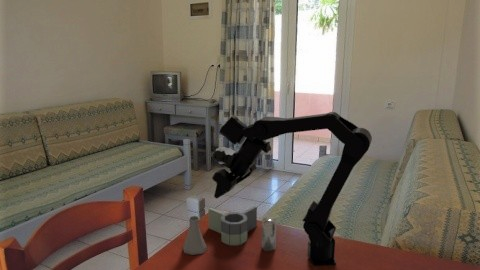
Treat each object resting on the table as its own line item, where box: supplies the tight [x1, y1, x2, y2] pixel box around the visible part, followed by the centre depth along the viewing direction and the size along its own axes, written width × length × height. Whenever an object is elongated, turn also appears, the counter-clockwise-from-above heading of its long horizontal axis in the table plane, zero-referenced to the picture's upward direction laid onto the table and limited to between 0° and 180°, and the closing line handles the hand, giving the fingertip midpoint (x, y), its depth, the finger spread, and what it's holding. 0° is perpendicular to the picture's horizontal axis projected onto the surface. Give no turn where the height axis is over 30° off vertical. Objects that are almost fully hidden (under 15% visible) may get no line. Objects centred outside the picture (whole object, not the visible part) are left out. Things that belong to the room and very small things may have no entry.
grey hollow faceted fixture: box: [221, 205, 258, 235], centre depth 113 cm, size 15×8×7 cm, turn 139°
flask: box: [182, 215, 208, 256], centre depth 104 cm, size 7×7×10 cm
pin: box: [261, 216, 277, 252], centre depth 105 cm, size 4×4×9 cm
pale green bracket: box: [207, 207, 248, 246], centre depth 112 cm, size 15×8×7 cm, turn 49°
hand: (222, 192), depth 109 cm, fingers open, 9 cm apart
